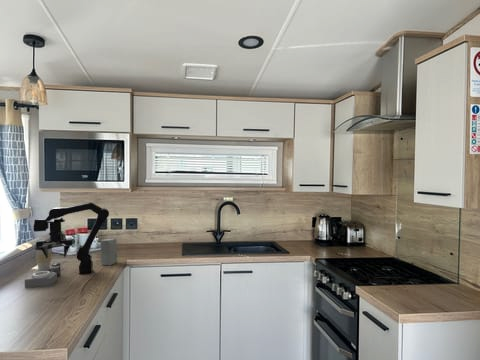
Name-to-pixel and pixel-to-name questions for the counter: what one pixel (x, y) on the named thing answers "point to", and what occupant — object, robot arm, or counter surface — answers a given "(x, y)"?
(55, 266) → the lens
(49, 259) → the coffee cup
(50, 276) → the camera body
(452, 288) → the counter surface
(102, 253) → the skincare box
